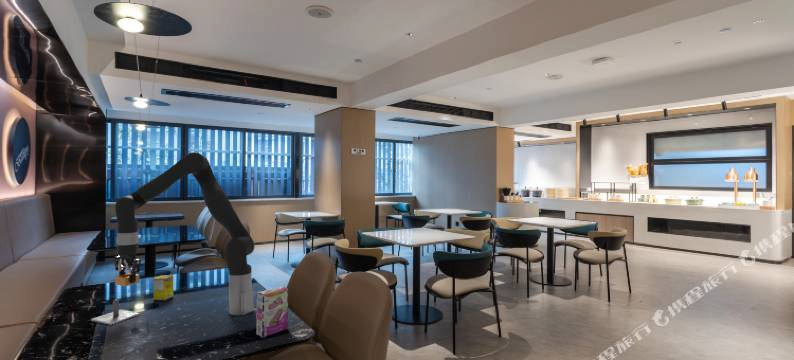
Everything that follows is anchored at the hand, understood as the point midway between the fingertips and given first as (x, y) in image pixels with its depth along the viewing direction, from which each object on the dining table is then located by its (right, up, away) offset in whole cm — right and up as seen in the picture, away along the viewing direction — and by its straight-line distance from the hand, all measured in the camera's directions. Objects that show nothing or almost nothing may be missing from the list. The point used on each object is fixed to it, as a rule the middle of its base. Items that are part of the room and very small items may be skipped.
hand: (127, 281), depth 165 cm
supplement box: (+3, -14, +21) cm, 25 cm away
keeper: (-3, -15, -3) cm, 15 cm away
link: (0, -1, 0) cm, 1 cm away
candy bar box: (+67, -16, -16) cm, 71 cm away
